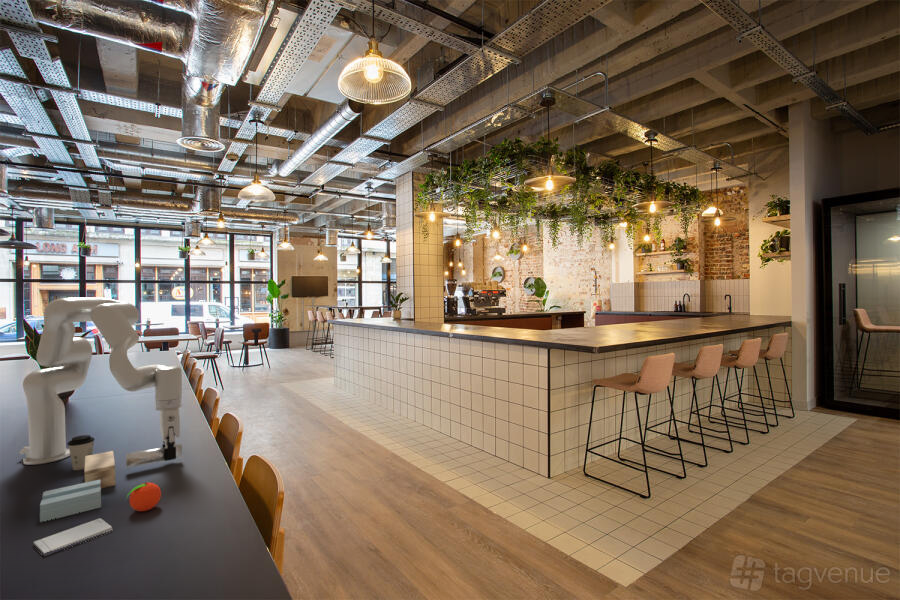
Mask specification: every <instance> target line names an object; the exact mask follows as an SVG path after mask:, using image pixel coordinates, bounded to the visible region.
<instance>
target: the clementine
mask: <svg viewBox="0 0 900 600" xmlns="http://www.w3.org/2000/svg"><path fill="white" fill-rule="evenodd" d="M161 497H162V491H161V488H160V486H159V485H157V483H154V482H143V483H141V484H139V485H137V486H135V487H133V488H132V489H131V490H130V491H129V492H128V494H127V496H126V498H125V500H127V499H128V498H129V501H128V502H129V505H130V507H131V508H132V509H133V510H135V511H138V512H147V511H149V510H151V509H153V508H154V507H155V506H156V505H158V504H159V503H160V502H159V501H160V500H161Z"/></svg>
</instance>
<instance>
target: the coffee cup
mask: <svg viewBox="0 0 900 600" xmlns="http://www.w3.org/2000/svg"><path fill="white" fill-rule="evenodd" d="M94 442H95V438H94V437H92V435H89V434H85V435H77V436H74V437H72V438H71V440H69V441H68V442H67V446H68V449H69V450H70V456H69V457H70V460H71V465H72V470H73V471H79V470H85V456H88V455H93V452H94Z"/></svg>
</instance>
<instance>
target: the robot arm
mask: <svg viewBox="0 0 900 600" xmlns="http://www.w3.org/2000/svg"><path fill="white" fill-rule="evenodd" d="M139 319H140V312H139V310H138V308H137V307H136V306H135V305H134V304H132V303H129V302H125V301H121V300H116V299H112V298H107V297H61V298H56V299H54V300H51V301H50V302H49V303H48V304H47V305H46V306H45V309H44V313H43V329H42V331H41V335H40V340H39V342H38V343H39V344H38V348H37V351H36V357H35V358H36V362H37V364H39V365H40V366H42V367H46V368H41V369H37V370H35V371H32V372H30V373H28V374H27V375H26V376H25V377H24V379H23V381H22V388H23V392H24V395H25V398H26V404H27V405H26V406H27V419H28V420H27V422H28V446H23V447H22V448H21V449H20V450H19V454H20V455H25V456H26V457H25V458H23V460H22V463H23V465H31V466H32V465H44V464H48V463H53V462H57V461H60V460H63V459H66V458H68V457H71V456H70V450H69V448H67V446H66V445H67V444H66V443H67V438H66V411H65V410H66V408H65V403H64V402H63V400H62V399H61V398H60V396H59V394H63V393H68V392H71V391H75V390H77V389H80V388H81V387H82V386H83V385H84V384H85V381H86V379H87V376H88V372H89V369H90V364H91V361H92V356H93V346H92V344H91V342H90V341H89V340H88V339H86V338H85V337H79V336H78V337H77V336H76V337H75V334H76V326H75V324H74V323H84V322H86V323H88V322H92V323H93V324H94V325H95V327H96V329H97V330H98V332H99V333H100V334H101V336H102V338H103V339H104V341H105V342H106V344H107V345H108V346H109V348H110V353H109V359H108V361H109V364H108V365H109V370H110V373H111V374H112V376H113V378H114V379H115V381H116V382H117V383H118V385H119V386H120V387H121V388H122V389H124V390H125V391H127V392H131V393H133V392H138V391H142V390H147V389H149V388H150V389H151V388H154V392H155V393H154V395H155V397H154V398H155V399H154V400H155V404H154V405H155V406H154V407H155V408H154V409H155V411H159V431H160V436H161V437H162V447H165V449H164V461H165V462H168V461H172V460H176V459H177V458H176V447H175V445H176V438H178V439H180V437H181V421H180V420H181V417H180V408H182V406H183V388H182V387H183V382H182V381H183V379H182V377H183V373H182V368H181V367H180V366H178V365H168V366H167V365H162V364H157V363H156V364H150V365H149V364H148V365H144V366H138V367H137V366H136V367H134V366H133V364H132V362H131V361H130V360H129V357H128V350H130V349H131V348H133V347H134V346H135V345H136V344H137V343H138V342H139V341H140V337H139V334H138V333H137V331H136V330H135V328H133V325H136V324H137V323H138V321H139Z"/></svg>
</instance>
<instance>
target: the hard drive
mask: <svg viewBox="0 0 900 600" xmlns="http://www.w3.org/2000/svg"><path fill="white" fill-rule="evenodd" d="M110 530H112V531H113V526H112V525H110V524H109V523H108V522H106V521H105V520H104V519H102V518H96V519H94V520H90V521H88V522H85V523H82V524H80V525H76V526H74V527H71V528H68V529H66V530H65V529H64V530H63V531H60V532H57V533H54V534H52V535H49V536H45V537H44V538H43V537H42V538H41V539H38V540H34V541H33V543H34V544H35V545H36V546H37V547H38V548H39V549H40V550H41V551H42V552H43V553H44V554H45V553H47V552H50V551H54V550H57V549H60V548H63V547H66V546H68V545H71V544H73V543H76V542H79V541H82V540H85V539H87V538H90V537H93V536H96V535H99V534H101V533H105V532H108V531H110Z"/></svg>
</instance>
